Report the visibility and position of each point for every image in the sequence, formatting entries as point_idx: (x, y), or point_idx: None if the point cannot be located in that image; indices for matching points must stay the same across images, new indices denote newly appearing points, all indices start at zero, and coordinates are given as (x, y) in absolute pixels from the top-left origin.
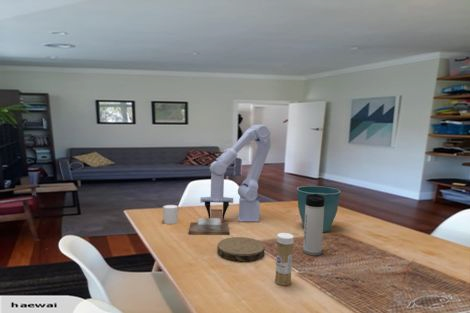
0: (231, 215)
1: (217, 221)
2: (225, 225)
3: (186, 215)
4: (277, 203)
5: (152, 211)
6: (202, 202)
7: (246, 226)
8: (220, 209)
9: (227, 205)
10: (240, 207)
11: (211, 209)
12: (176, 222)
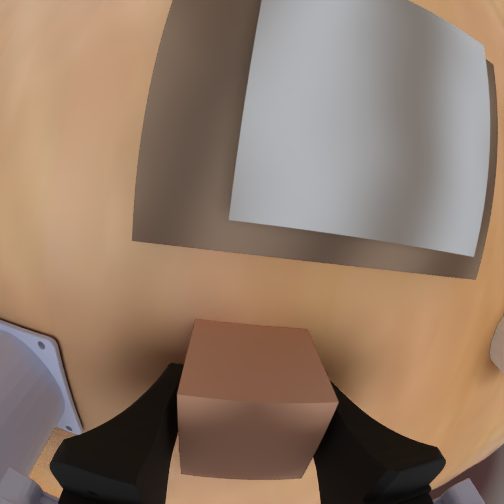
0: None
1: (296, 60)
2: (175, 138)
3: None
4: None
5: (483, 446)
6: (452, 486)
7: (8, 204)
8: (198, 473)
9: (69, 449)
10: (5, 431)
11: (299, 472)
12: (500, 323)
